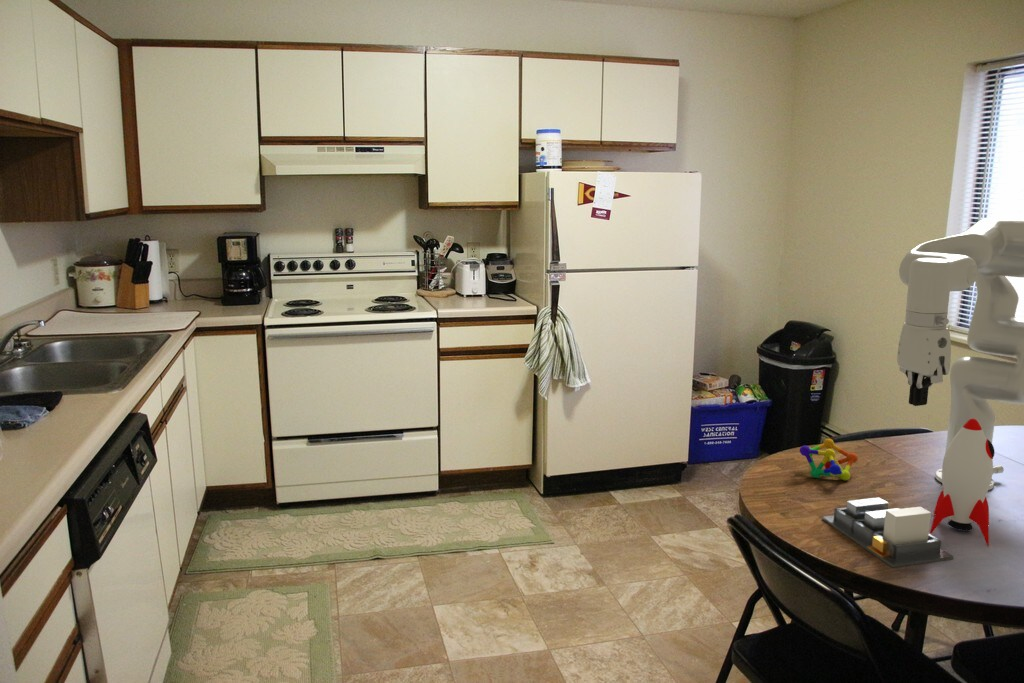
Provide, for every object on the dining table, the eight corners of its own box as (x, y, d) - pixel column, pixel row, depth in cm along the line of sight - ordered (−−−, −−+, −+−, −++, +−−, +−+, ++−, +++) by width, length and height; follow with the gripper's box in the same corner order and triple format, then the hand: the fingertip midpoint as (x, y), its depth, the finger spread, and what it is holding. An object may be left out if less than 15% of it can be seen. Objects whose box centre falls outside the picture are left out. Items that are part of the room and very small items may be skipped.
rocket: (988, 546, 155) (1004, 430, 149) (929, 534, 160) (943, 421, 155) (989, 525, 164) (1003, 415, 159) (933, 514, 169) (945, 408, 164)
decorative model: (871, 462, 190) (839, 459, 181) (855, 491, 192) (822, 490, 184) (829, 435, 200) (797, 432, 191) (814, 463, 202) (781, 461, 193)
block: (916, 542, 155) (920, 506, 153) (926, 549, 152) (931, 512, 151) (882, 546, 153) (885, 510, 152) (892, 553, 151) (896, 516, 149)
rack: (876, 512, 171) (879, 489, 169) (953, 559, 150) (956, 532, 148) (822, 519, 167) (824, 495, 166) (892, 567, 146) (895, 541, 145)
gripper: (970, 324, 148) (961, 413, 152) (914, 311, 162) (906, 392, 167) (938, 328, 146) (929, 417, 151) (884, 313, 161) (877, 396, 165)
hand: (917, 404), depth 159 cm, fingers closed
